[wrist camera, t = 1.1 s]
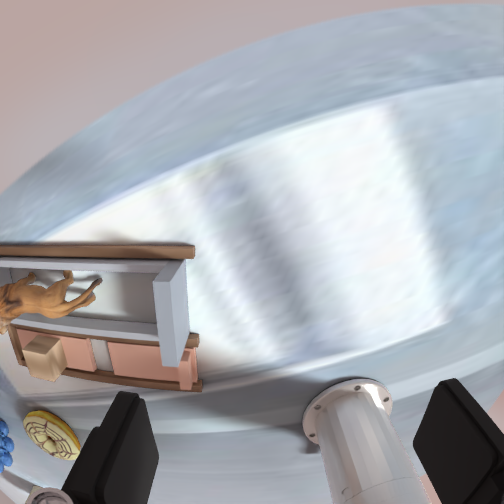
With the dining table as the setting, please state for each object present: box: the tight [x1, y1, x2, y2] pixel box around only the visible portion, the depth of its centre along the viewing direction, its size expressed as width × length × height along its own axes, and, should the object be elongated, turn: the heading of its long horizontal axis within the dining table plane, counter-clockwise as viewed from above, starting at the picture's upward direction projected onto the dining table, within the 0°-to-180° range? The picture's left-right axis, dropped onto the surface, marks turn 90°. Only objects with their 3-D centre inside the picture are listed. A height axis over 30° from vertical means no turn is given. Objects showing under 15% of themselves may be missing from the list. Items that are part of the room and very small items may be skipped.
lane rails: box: [0, 245, 203, 392], centre depth 33 cm, size 18×28×1 cm, turn 89°
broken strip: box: [16, 328, 198, 390], centre depth 34 cm, size 5×26×3 cm, turn 89°
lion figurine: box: [0, 270, 102, 334], centre depth 28 cm, size 15×5×9 cm, turn 102°
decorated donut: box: [23, 410, 80, 460], centre depth 38 cm, size 10×11×4 cm
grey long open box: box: [0, 255, 190, 367], centre depth 29 cm, size 8×26×7 cm, turn 89°
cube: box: [22, 335, 68, 382], centre depth 32 cm, size 4×4×4 cm
